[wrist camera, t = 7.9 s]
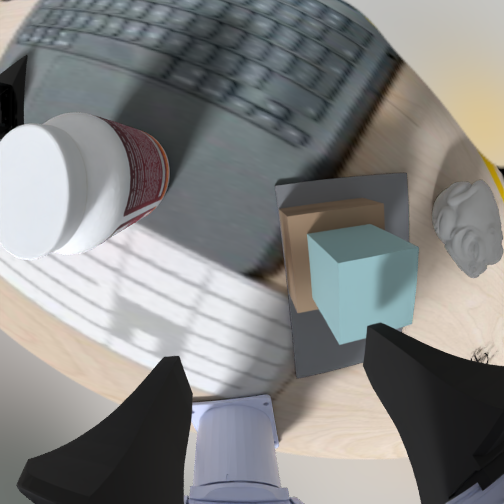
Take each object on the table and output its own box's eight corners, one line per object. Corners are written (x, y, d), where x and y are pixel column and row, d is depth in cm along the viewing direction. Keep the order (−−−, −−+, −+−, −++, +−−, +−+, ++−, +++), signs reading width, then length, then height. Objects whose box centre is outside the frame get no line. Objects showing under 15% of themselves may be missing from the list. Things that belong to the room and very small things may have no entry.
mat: (396, 348, 23) (398, 351, 22) (296, 375, 23) (296, 378, 22) (403, 172, 18) (406, 173, 18) (274, 185, 18) (275, 186, 17)
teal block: (371, 285, 17) (411, 323, 12) (312, 297, 17) (339, 344, 12) (370, 224, 15) (418, 246, 11) (306, 233, 15) (338, 263, 11)
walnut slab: (365, 277, 20) (383, 294, 17) (288, 292, 20) (297, 313, 17) (362, 197, 18) (383, 203, 15) (278, 208, 18) (287, 216, 15)
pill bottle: (118, 115, 16) (12, 76, 5) (190, 158, 17) (128, 146, 6) (77, 191, 17) (-37, 224, 6) (142, 237, 18) (56, 314, 8)
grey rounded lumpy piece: (405, 250, 20) (461, 282, 13) (422, 164, 18) (486, 170, 11) (452, 258, 20) (504, 287, 14) (468, 184, 19) (525, 196, 12)
